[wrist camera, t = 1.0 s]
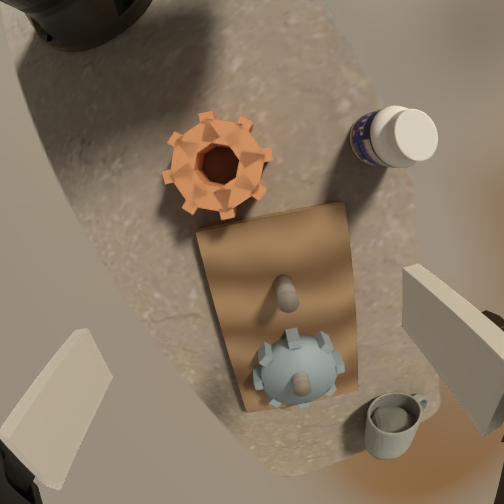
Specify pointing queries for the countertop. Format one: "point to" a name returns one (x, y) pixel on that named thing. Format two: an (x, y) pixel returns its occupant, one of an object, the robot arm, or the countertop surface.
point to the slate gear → (297, 367)
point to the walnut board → (257, 298)
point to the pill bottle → (394, 137)
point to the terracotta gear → (192, 156)
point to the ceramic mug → (392, 423)
